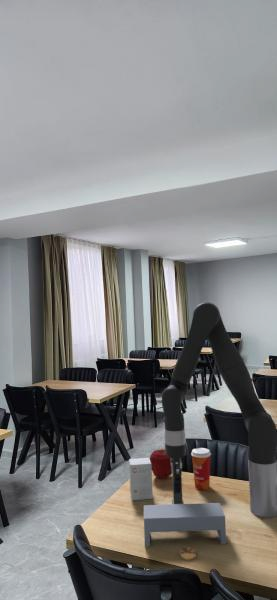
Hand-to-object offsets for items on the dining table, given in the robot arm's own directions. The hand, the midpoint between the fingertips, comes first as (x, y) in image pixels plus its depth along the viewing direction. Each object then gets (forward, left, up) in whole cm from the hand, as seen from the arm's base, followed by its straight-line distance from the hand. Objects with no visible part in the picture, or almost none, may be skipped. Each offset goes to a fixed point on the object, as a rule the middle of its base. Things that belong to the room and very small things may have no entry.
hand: (177, 490), depth 138 cm
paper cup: (-11, -14, -5) cm, 18 cm away
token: (0, +29, -5) cm, 30 cm away
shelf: (0, +20, -5) cm, 21 cm away
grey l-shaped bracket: (0, +7, -5) cm, 9 cm away
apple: (+4, -24, -5) cm, 25 cm away
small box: (+13, -8, -5) cm, 16 cm away
